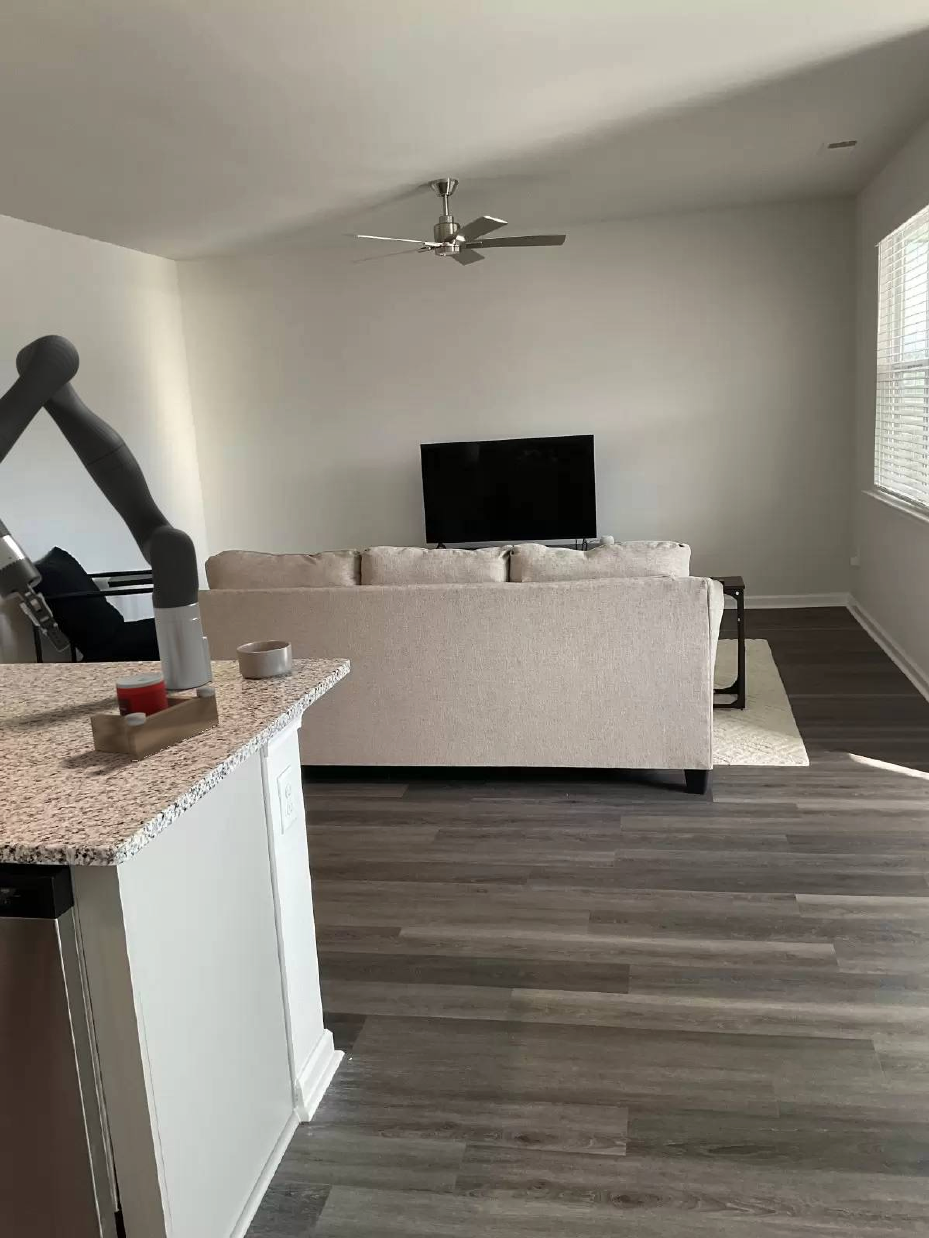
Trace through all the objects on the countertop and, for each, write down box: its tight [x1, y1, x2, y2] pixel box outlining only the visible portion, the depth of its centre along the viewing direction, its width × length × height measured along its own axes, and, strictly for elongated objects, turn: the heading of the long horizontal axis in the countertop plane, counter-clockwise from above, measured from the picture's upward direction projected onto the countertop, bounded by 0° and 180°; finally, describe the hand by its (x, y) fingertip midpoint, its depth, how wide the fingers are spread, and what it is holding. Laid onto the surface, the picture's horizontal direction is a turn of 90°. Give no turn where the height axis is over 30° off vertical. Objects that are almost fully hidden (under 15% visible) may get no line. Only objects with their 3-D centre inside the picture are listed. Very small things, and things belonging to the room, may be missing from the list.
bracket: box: [89, 685, 220, 761], centre depth 170 cm, size 13×20×7 cm, turn 154°
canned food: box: [115, 672, 168, 717], centre depth 169 cm, size 8×8×11 cm
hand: (64, 648), depth 177 cm, fingers closed
